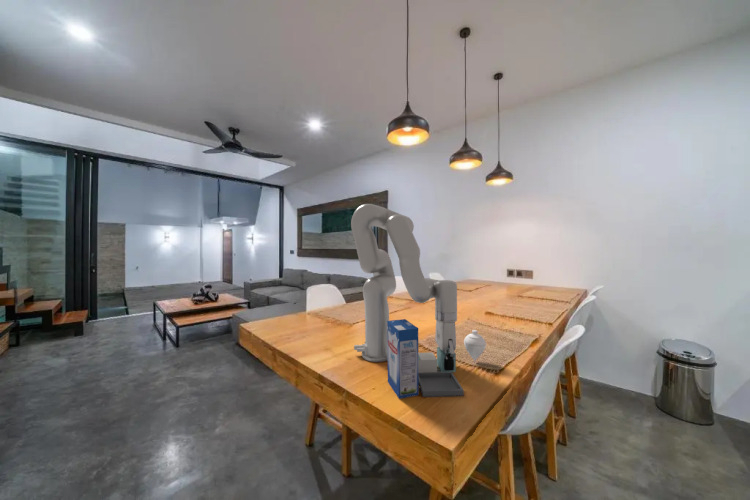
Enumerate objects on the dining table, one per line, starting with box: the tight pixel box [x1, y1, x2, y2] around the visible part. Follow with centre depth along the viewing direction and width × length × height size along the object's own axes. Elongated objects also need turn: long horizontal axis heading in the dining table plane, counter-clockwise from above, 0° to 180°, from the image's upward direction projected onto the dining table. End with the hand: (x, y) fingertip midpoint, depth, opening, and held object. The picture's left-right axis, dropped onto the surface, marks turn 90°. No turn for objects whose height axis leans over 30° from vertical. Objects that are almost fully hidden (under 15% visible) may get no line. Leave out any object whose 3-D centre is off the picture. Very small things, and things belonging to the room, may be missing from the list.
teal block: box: [436, 346, 457, 373], centre depth 96 cm, size 5×6×6 cm
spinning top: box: [463, 329, 487, 363], centre depth 101 cm, size 8×8×12 cm
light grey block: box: [418, 352, 441, 373], centre depth 96 cm, size 9×6×5 cm, turn 92°
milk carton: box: [387, 318, 420, 400], centre depth 83 cm, size 10×6×20 cm, turn 16°
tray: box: [419, 371, 465, 398], centre depth 84 cm, size 12×11×2 cm
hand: (446, 365), depth 97 cm, fingers closed on teal block, 6 cm apart
